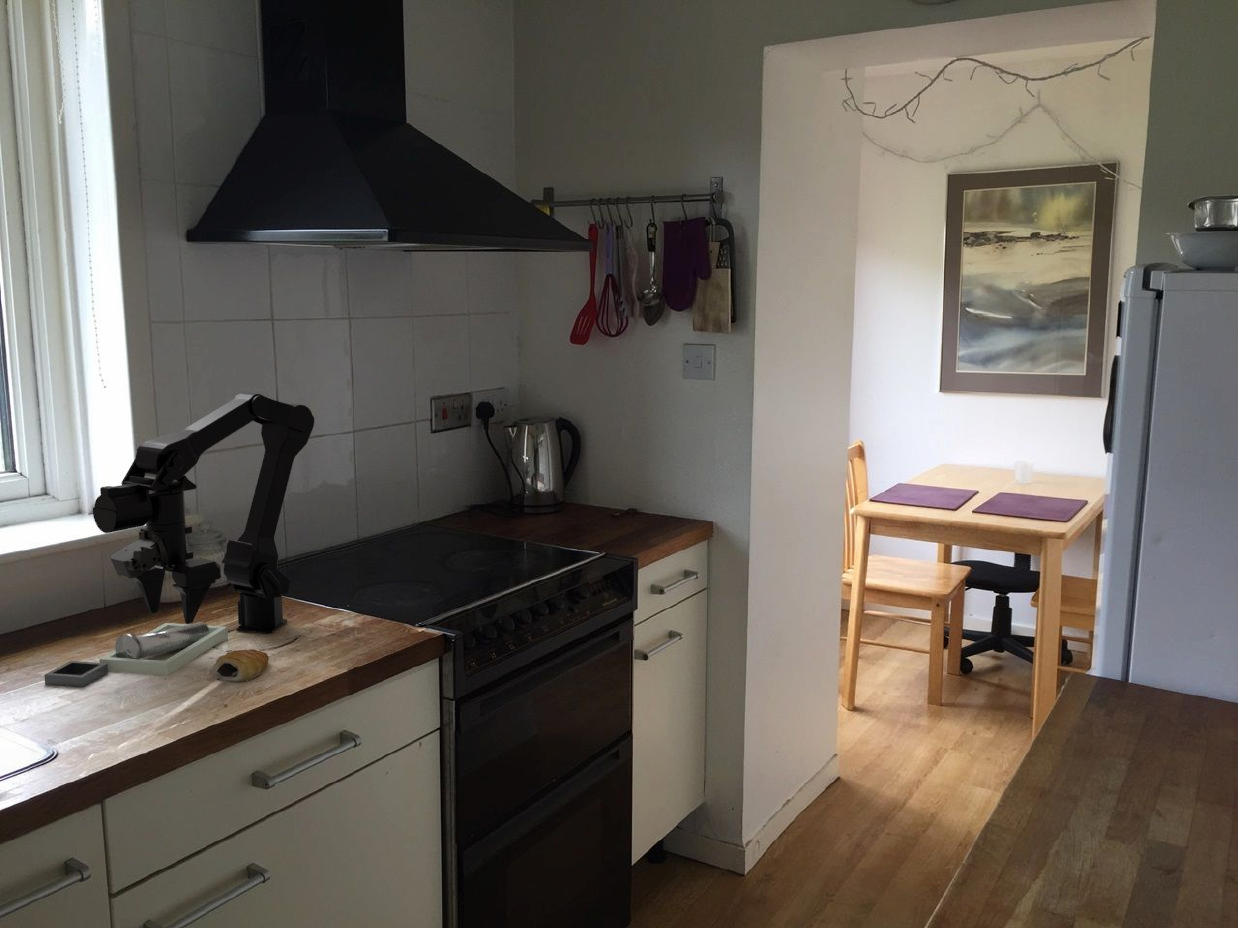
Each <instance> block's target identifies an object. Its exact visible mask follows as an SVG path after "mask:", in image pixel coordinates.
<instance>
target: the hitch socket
mask: <svg viewBox="0 0 1238 928" xmlns="http://www.w3.org/2000/svg"><path fill="white" fill-rule="evenodd" d="M108 674H109V671H108V663H100V662H94V661H93V662H92V661H80V660H79V661H78V660H69V661H68V662H66V663H64V664H62V665H60V666H59V667H56V668H54V669H53V670H50V671H48V672H47V673H45V674H44V685H45V686H53V687H55V686H56V687H67V688H68V687H69V688H70V687H71V688H81V689H82V688H85V687H87V686H88V685H91V683H94V682H95V681H97V680H99V679H101V678H102V677H104V676H106V675H108Z"/></svg>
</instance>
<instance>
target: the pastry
mask: <svg viewBox="0 0 1238 928" xmlns="http://www.w3.org/2000/svg"><path fill="white" fill-rule="evenodd" d="M269 657H270V656H269V655H268V654H267V652H265V651H260V650H257V649H254V648H252V649H240V650H233V651H229V652H227V653H226V654H223V655H220V656H219V657H218V658H217V659H216V662H215V663H214V664H213V666H212V668H211V670H210V671H209V672H210V673H209V674H210V676H219V677H217V680H219V682H232V681H234V682H233V683H243V682H248V681H247V680H249V681H251V680H254V679H255V678H256V677H257V676H260V675H262V673H263V672H264V671H265V670H267V668H268V666H269V660H270V658H269ZM253 678H254V679H253ZM250 679H251V680H250ZM217 680H216V681H217ZM242 681H243V682H242Z"/></svg>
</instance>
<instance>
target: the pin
mask: <svg viewBox="0 0 1238 928" xmlns="http://www.w3.org/2000/svg"><path fill="white" fill-rule="evenodd" d="M208 626H209V625H207V623H205V622H204V621H199V622H193V623H189V625H184V626H180V627H175V628H170V629H166V630H161V631H156V632H152V633H148V632H146V633H147V634H146V633H143V634H140V635H135V634H133V632H132V633H131V632H127V633H122V634H120V635H119V636H118V637H117V638H116V641H115V645H114V651H116V655H117V658H129V659H143V658H147V657H151V656H156V655H159V654H164V653H168V652H172V651H177V650H181V649H182V650H183V649H185V648H187V647H189V646H190V645H192V644H194V643H195V642H197V641H199V640H200V639H202V638H204V637H205V636H207V635H208V634H210V633H209V628H208Z"/></svg>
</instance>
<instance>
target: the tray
mask: <svg viewBox="0 0 1238 928" xmlns="http://www.w3.org/2000/svg"><path fill="white" fill-rule="evenodd" d="M189 624H190V623H189ZM189 624H186V623H172V622H165V623H163V624H161V625H159V626H158V627H155V628H154V629H151V630H150V631H148V632H146V633H145V634H147V633H152V632H156V631H161V630H166V629H170V628H175V627H180V626H184V625H189ZM207 626H208V628H209V633H210V634H208V635H207V636H205V637H204V638H202V639H200V640H199V641H197V642H195V643H194V644H192V645H190V646H189V647H186V648H183V649H182V650H180V651H179V652H177V653H175V654H174V655H172V656H171V657H169V658H167V659H165V660H158V659H143V658H140V659H129V658H117V655H116V651H115V650H114V651H111V652H110V653H108V654H106V655H104V656H102V657H100V658H99V660H98V661H99V663H108V672H122V673H123V672H124V673H136V674H137V673H138V674H150V675H151V674H152V675H165V676H168V675H170V674H171V673H174V672H175V671H176V670H178V669H179V668H182V666H184V665H186V664H188V663H189V662H191V661H192V660H194V659H195V658H197V657H198V656H200V655H202V654H203V653H205V652H207V651H208V650H209V649H211V648H213V647H214V646H216V645H217V644H219V643H221V642H228V641H229V632H228V631H229V630H228V628H229V627H228V626H221V625H219V626H218V625H207Z"/></svg>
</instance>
